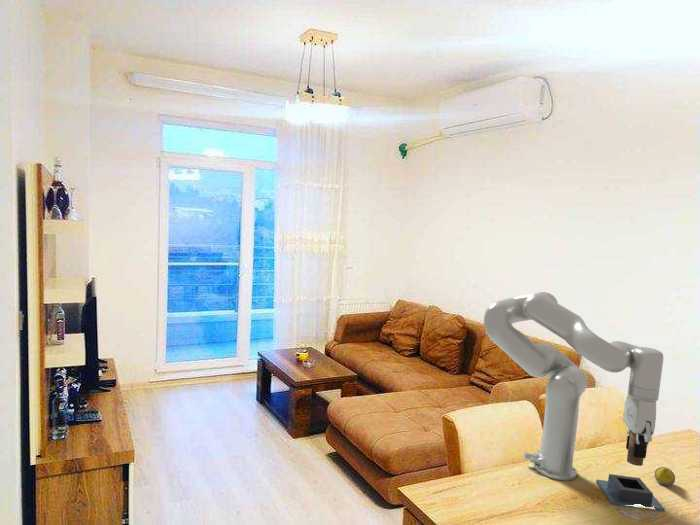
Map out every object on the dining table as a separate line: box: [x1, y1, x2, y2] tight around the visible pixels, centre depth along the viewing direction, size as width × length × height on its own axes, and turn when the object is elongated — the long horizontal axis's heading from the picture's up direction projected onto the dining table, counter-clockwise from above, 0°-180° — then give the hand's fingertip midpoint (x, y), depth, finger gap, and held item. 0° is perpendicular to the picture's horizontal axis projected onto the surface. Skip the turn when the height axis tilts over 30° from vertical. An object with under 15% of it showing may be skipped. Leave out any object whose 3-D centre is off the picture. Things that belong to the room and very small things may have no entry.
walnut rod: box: [626, 431, 645, 467], centre depth 145 cm, size 4×4×10 cm
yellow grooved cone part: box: [654, 466, 676, 487], centre depth 154 cm, size 5×5×10 cm
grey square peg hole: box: [595, 473, 665, 512], centre depth 146 cm, size 14×12×4 cm
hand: (635, 452), depth 145 cm, fingers closed on walnut rod, 4 cm apart
